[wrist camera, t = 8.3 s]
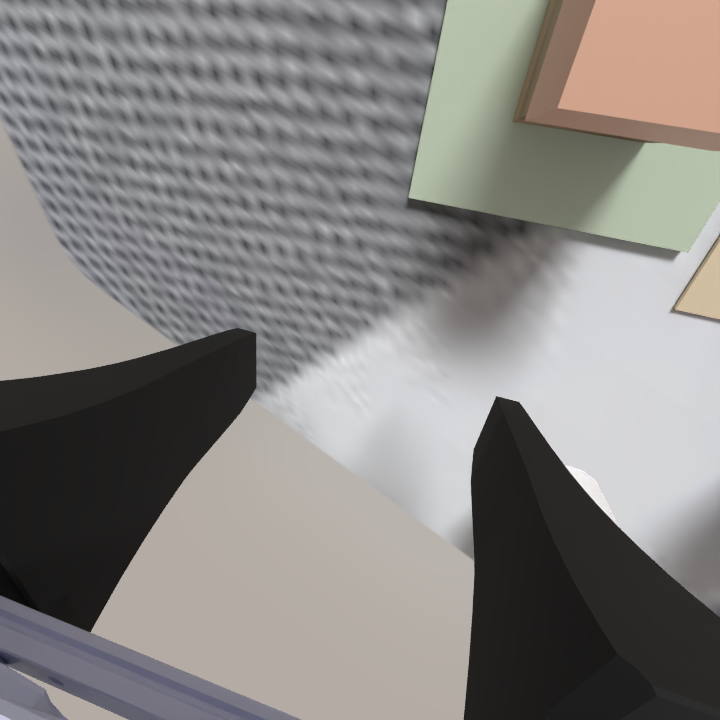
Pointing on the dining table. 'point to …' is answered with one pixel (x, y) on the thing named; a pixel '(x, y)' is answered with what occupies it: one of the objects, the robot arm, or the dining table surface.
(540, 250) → the dining table surface
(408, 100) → the dining table surface
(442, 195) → the plate
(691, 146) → the terracotta block
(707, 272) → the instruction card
